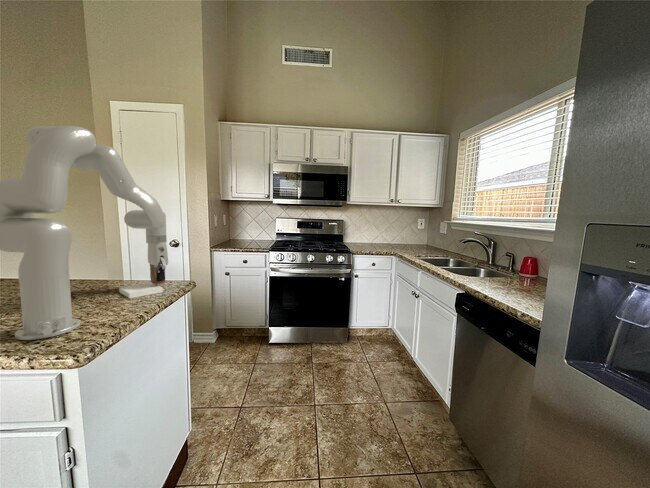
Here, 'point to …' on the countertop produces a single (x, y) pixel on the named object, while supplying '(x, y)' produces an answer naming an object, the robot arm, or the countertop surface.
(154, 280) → the two-tone wooden block
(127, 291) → the cutting board
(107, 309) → the countertop surface
